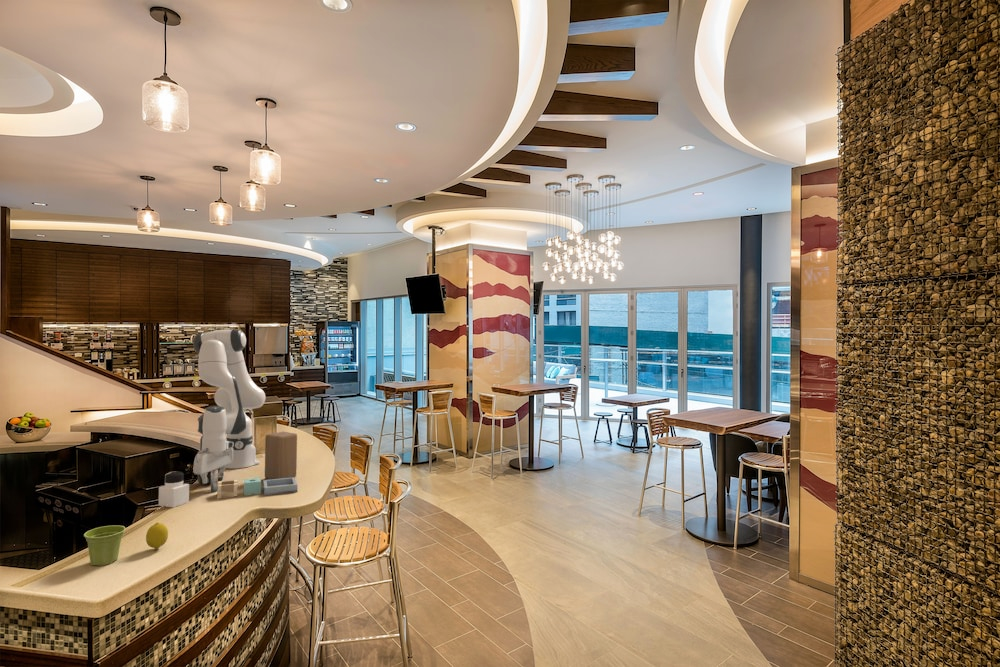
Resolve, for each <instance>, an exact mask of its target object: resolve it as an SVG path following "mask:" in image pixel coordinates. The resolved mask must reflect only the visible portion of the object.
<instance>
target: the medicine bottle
mask: <svg viewBox="0 0 1000 667" xmlns="http://www.w3.org/2000/svg"><path fill="white" fill-rule="evenodd" d="M184 475H185V473H184V472H182V471H178V470H177V471H169V472H168V473H166V474H165V475H164V485H162V486H159V487H158V506H159V507H164V506H166V505H167V504H168V505H167V506H166V508H176V507H179V506H181V505H184V504H185V505H186V504H187V503H189V502H190V483H184V480H185V479H184V478H185V476H184Z"/></svg>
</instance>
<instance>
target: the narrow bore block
mask: <svg viewBox="0 0 1000 667" xmlns="http://www.w3.org/2000/svg"><path fill="white" fill-rule="evenodd" d="M243 480H244V482H243V483H244V484H243V486H244V488H243V494H244V495H245V496H249V495H248V494H254V495H261V494H262V492H261V490H262V480H261V477H254V478H246V479H243ZM244 495H243V496H244Z"/></svg>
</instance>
